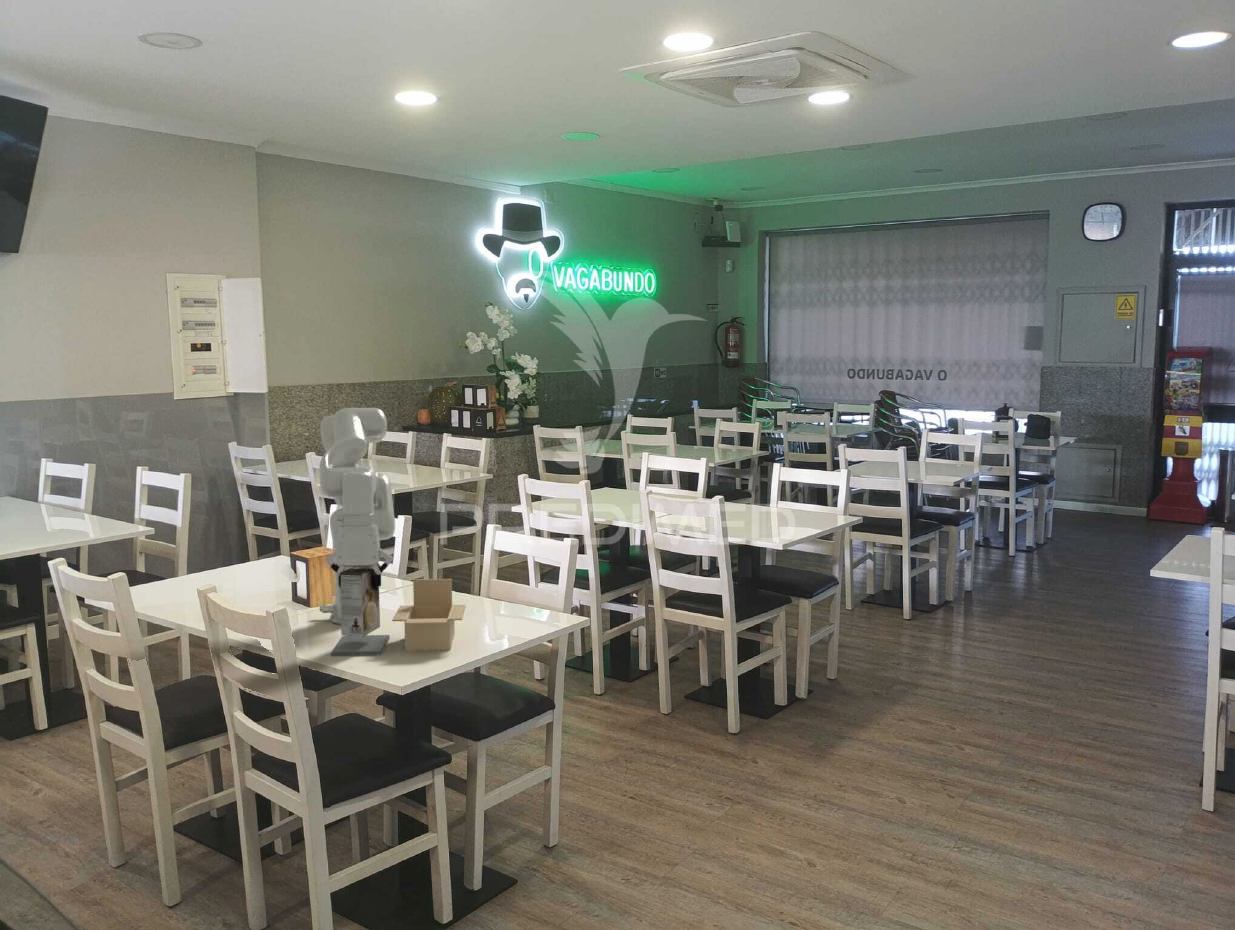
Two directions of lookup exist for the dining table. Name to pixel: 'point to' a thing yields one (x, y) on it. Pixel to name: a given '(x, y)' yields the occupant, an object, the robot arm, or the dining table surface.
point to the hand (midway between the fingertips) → (360, 589)
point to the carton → (430, 616)
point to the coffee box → (359, 601)
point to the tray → (360, 645)
